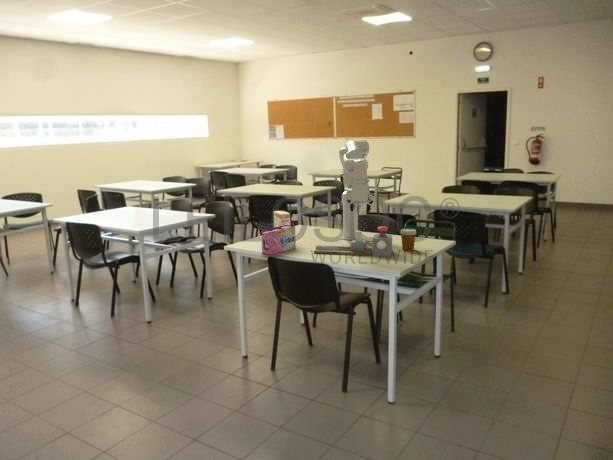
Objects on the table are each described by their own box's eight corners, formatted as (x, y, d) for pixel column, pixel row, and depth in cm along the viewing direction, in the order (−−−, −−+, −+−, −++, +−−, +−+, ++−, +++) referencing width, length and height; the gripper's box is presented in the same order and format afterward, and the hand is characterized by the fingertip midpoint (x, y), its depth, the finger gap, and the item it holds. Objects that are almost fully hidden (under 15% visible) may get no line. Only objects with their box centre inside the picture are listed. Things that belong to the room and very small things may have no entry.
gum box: (270, 255, 297) (269, 232, 295) (260, 253, 302) (259, 230, 300) (296, 247, 316) (295, 226, 313) (286, 246, 321) (285, 224, 318)
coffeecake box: (291, 243, 328) (290, 213, 325) (280, 244, 326) (279, 214, 322) (284, 239, 342) (283, 210, 338) (274, 240, 340) (273, 210, 336)
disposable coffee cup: (415, 252, 297) (415, 231, 295) (398, 251, 301) (398, 231, 298) (417, 248, 306) (417, 228, 304) (401, 247, 309) (401, 228, 307)
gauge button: (378, 241, 297) (378, 226, 296) (387, 241, 296) (387, 226, 294) (377, 243, 292) (377, 227, 290) (386, 243, 291) (387, 228, 289)
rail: (318, 249, 310) (318, 243, 309) (373, 251, 302) (373, 245, 302) (314, 253, 299) (314, 247, 298) (370, 255, 291) (370, 249, 290)
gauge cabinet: (374, 251, 302) (374, 234, 300) (391, 251, 300) (392, 234, 298) (372, 255, 290) (372, 238, 288) (390, 256, 288) (390, 239, 286)
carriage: (352, 248, 302) (352, 229, 300) (365, 248, 301) (365, 230, 298) (350, 250, 296) (350, 232, 294) (364, 251, 294) (364, 232, 292)
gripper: (376, 181, 291) (376, 211, 294) (347, 180, 297) (348, 210, 300) (373, 182, 284) (373, 213, 287) (343, 181, 291) (343, 211, 294)
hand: (360, 211), depth 294 cm, fingers open, 9 cm apart
